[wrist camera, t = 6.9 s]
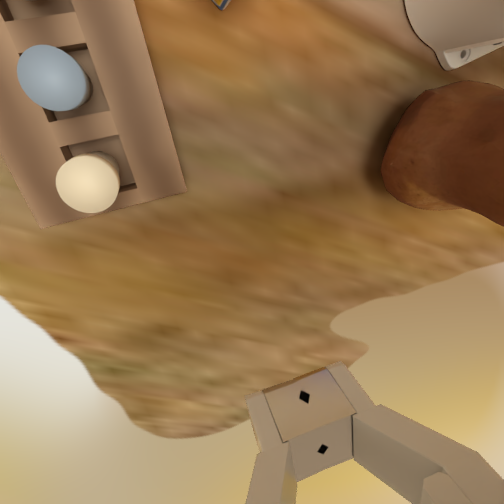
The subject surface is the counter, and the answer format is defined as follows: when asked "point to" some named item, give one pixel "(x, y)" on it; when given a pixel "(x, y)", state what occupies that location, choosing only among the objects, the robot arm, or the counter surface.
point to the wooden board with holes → (85, 105)
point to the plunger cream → (89, 182)
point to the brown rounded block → (450, 151)
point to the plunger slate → (53, 78)
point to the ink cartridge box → (221, 3)
